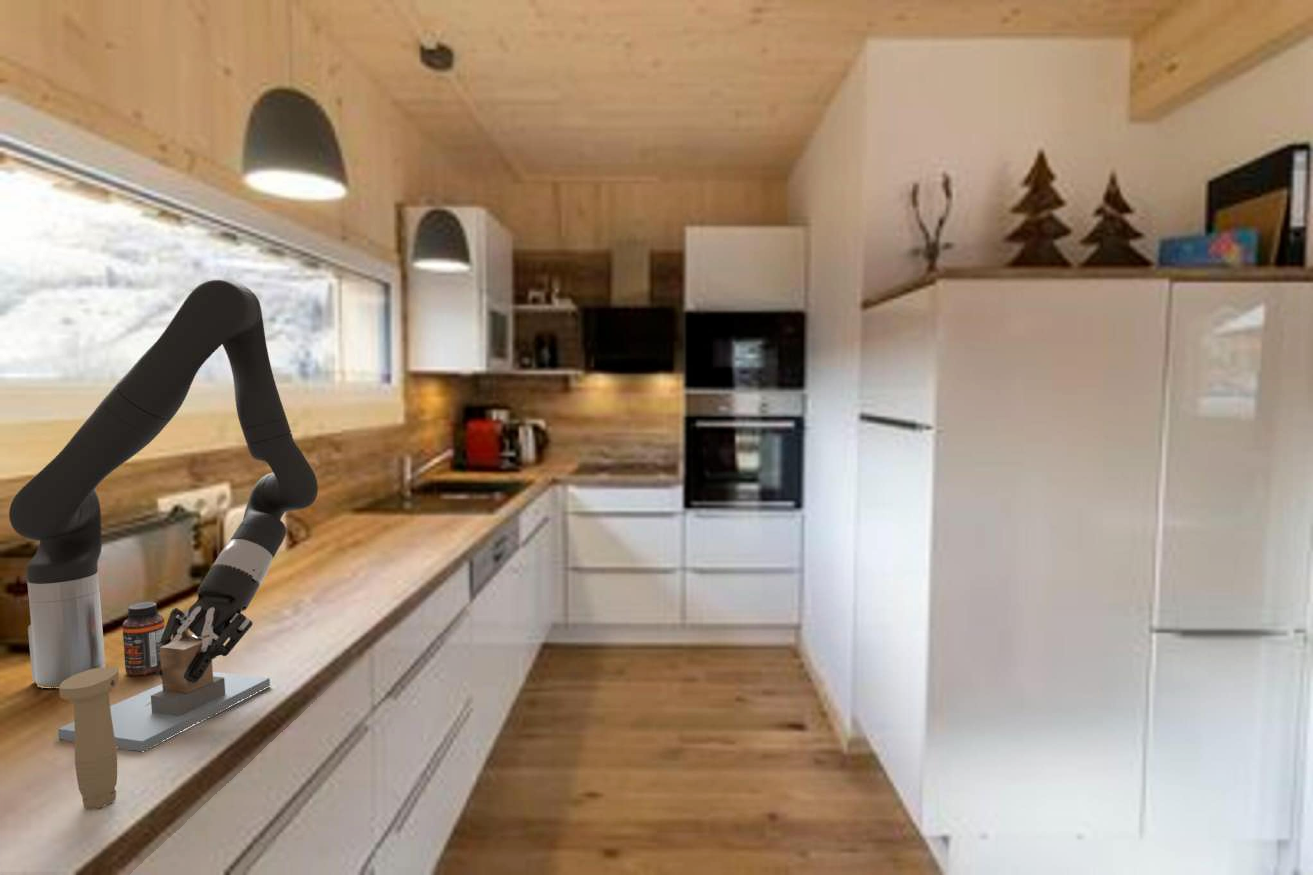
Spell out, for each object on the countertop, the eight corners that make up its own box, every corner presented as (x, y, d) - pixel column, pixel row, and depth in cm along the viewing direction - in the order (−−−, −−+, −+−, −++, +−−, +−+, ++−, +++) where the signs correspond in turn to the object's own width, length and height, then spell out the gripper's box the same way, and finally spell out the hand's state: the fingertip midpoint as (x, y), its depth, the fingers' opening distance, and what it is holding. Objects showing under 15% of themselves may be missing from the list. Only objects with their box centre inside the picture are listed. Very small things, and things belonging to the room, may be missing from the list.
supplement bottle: (116, 676, 129) (111, 609, 128) (144, 663, 135) (140, 599, 134) (148, 677, 129) (144, 610, 128) (175, 664, 134) (171, 600, 134)
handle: (137, 787, 93) (128, 665, 92) (105, 817, 87) (95, 687, 86) (94, 790, 93) (84, 668, 92) (59, 820, 87) (48, 690, 85)
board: (59, 739, 107) (58, 728, 107) (195, 678, 128) (194, 669, 128) (143, 752, 102) (142, 741, 102) (270, 687, 123) (269, 677, 123)
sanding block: (151, 712, 111) (147, 651, 110) (199, 690, 119) (195, 633, 118) (179, 716, 110) (174, 654, 109) (225, 693, 117) (221, 635, 117)
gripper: (185, 560, 122) (118, 663, 111) (259, 564, 118) (198, 672, 107) (215, 584, 127) (154, 684, 117) (287, 589, 123) (231, 693, 113)
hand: (176, 678), depth 112 cm, fingers closed on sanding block, 4 cm apart
